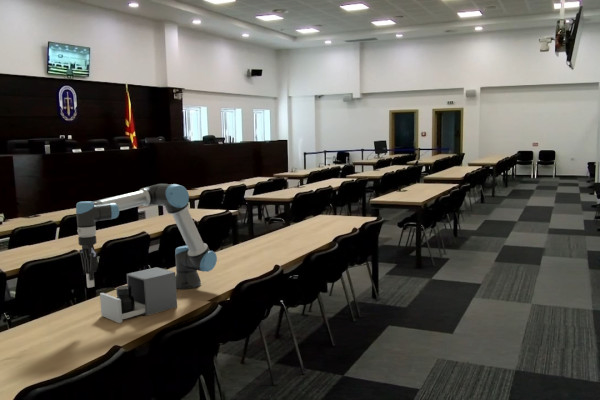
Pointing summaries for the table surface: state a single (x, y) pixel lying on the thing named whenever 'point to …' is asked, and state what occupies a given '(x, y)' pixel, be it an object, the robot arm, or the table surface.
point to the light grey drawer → (117, 308)
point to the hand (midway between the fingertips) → (90, 286)
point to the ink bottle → (125, 298)
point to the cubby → (154, 289)
